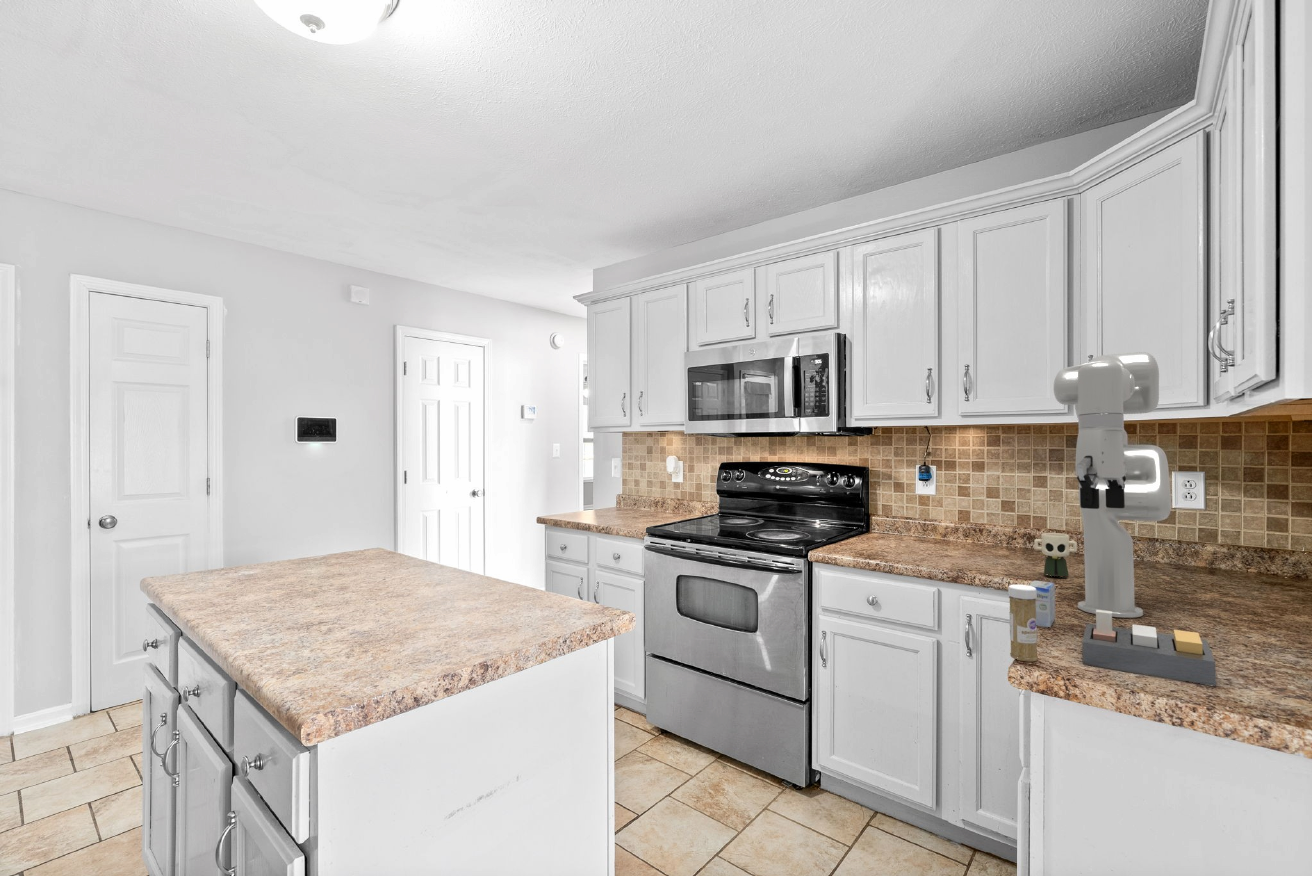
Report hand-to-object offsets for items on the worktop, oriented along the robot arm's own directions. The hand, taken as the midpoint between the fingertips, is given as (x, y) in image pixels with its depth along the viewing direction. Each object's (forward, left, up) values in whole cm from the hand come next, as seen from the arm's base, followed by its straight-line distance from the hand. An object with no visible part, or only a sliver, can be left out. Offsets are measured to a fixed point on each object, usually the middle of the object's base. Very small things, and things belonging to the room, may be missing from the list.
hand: (1102, 508), depth 125 cm
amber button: (+10, +12, -23) cm, 28 cm away
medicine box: (-10, -12, -27) cm, 31 cm away
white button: (+10, +6, -23) cm, 26 cm away
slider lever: (+8, 0, -24) cm, 25 cm away
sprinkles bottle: (+20, -12, -27) cm, 36 cm away
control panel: (+10, +6, -27) cm, 30 cm away
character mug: (-70, -14, -27) cm, 76 cm away
